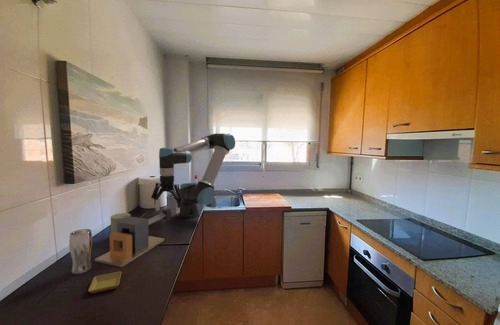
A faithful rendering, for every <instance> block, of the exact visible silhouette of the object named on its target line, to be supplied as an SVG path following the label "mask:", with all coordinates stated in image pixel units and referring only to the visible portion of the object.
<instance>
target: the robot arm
mask: <svg viewBox="0 0 500 325" xmlns="http://www.w3.org/2000/svg"><path fill="white" fill-rule="evenodd" d="M235 147H236V139H235V136H234V135H233V134H231V133H227V132H225V133H211V134H209V135H205V136H202V137H201V138H200V139H198V140H195V141H192V142H189V143H186V144H182V145H180V146H176V147H174V148H173V147H161V148H159V152H158V157H159V158H158V159H159V182H156V183H155V186H154V189H153V192H152V195H151V196H150V198H151V199H153V202H154V206H155V212H158V211H160V210H161V205H160V204H161V202H160V201H161V200H160V197H161V196H162V194H163V193H164V192H165V193H166V192H167V193H168V192H169V193H170V194H171V195H172V197H173V198H174V200H175V201H176V202H175V214H177V215H176V216H177V217H178V218H181V219H192V218H196V217H198V216H200V210H199V209H200V208H199V206H198V204H199V205H203V206H208V205H209V204H211V203H213V201H214V199H215V196H216V192H215V185H214V184H215V181H216V179H217V176H218V175H219V172H220V170H221V167H222V165H223V162H224V160H225V158H226V155H228V154H229V153H230V150H231V151H232V150H233V149H235ZM210 149H213V153H212V155H211V157H210V160H209V162H208V164H207V167H206V169H205V172H204V173H203V175H202V178H201V180H199V181H198V182H194V181H193V182H184V183H181V184H178V183H177V184H175V183H174V182H175V175H174V174H175V167H174V166H175V165H176V164H188V163H189V164H190V163H191V162H192V160H193V159H192V158H193V156H192V154H195V153H198V152H201V151H203V150H205V151H207V150H210Z"/></svg>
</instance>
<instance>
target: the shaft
mask: <svg viewBox="0 0 500 325" xmlns="http://www.w3.org/2000/svg"><path fill="white" fill-rule="evenodd" d="M170 218H172V208H164V209H162V210H161V213H159V214H157V215H155V216H153V217H150V218H147V219H148V226H149V225H152V224H154V223H155V222H156V223H157V222H159V221H160V220H165V221H166V220H169V219H170Z"/></svg>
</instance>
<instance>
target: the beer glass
mask: <svg viewBox="0 0 500 325" xmlns="http://www.w3.org/2000/svg"><path fill="white" fill-rule="evenodd" d="M68 244H69V252H70V256H71V259H72V268H71V274H73V275H74V274H75V275H80V274H83V273H86V272H88V271H90V270H91V269H92V266H93V265H92V262H91V255H92V254H91V253H92V248H93V233H92V229H90V228H82V229H77V230H73V231H72V232H70V233H69V242H68Z"/></svg>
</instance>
